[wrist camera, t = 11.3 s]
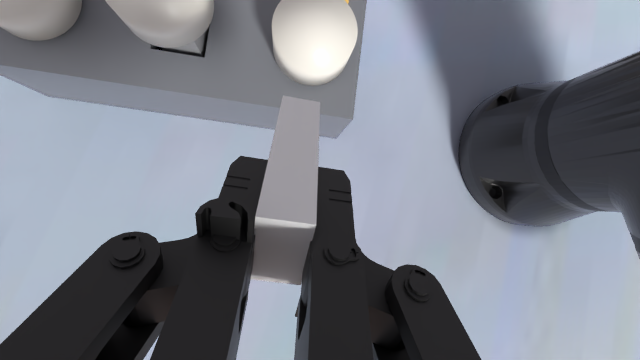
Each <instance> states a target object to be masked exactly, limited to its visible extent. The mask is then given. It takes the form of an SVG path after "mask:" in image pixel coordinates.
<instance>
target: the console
mask: <svg viewBox="0 0 640 360" xmlns="http://www.w3.org/2000/svg"><path fill="white" fill-rule="evenodd" d="M280 1H281V0H214V13H213V18H212V21H211V23H210V27H209V33H208V39H207V46H206V52H205V58H204V57H198V56H192V55H186V54H180V53H174V52H168V51H162V50H156V48H157V46H154V45H151V44H149V43H147V42H145V41H143V40H142V39H140V38H139V37H137V36H136V35H135V34H134V33H133V32H132V31H131V30H130V28H129V27H128V26H127V25H126V24H125V23H124V22H123V21H122V19H121V18H120V17H119V16H118V15H117V14H116V13H115V11H114V10H113V9H112V8H111V7H110V6H109V5H108V4H107V2H106V1H105V0H82V7H81V11H80V14H79V17H78V19H77V20H76V22H75V23H74V25H73V26H72V27H71V28H70V29H69V30H68V31H66V33H65V34H62V35H60V36H58V37H55V38H52V39H48V40H42V41H33V40H26V39H22V38H19V37H17V36H15V35H13V34H11V33H9V32H8V31H6V30H4V29H3V28H1V27H0V75H1V76H3V77H6V78H8V79H10V80H12V81H15V82H17V83H19V84H21V85H24V86H26V87H28V88H30V89H32V90H35V91H37V92H39V93H41V94H44V95H46V96H49V97H56V98H63V99H69V100H76V101H83V102H90V103H97V104H104V105H110V106H117V107H124V108H131V109H138V110H145V111H151V112H158V113H165V114H172V115H179V116H186V117H193V118H199V119H206V120H213V121H220V122H227V123H234V124H240V125H247V126H254V127H261V128H268V129H275V128H276V124H277V119H278V115H279V111H280V106H281V102H282V98H283V96H289V97H294V98H300V99H306V100H311V101H317V102H320V122H319V136H322V137H329V138H337V137H338V136H339V135H340V134H341V132H342V131H343V130H344V129H345V128H346V127H347V125H348V124H349V123H350V122H351V121H352V120H353V113H354V105H355V96H356V87H357V79H358V70H359V62H360V53H361V45H362V36H363V27H364V19H365V10H366V2H367V0H345V1H346V2H347V4H348V5H349V6H350V8H351V9H352V11H353V13H354V15H355V18H356V22H357V28H358V34H357V41H356V44H355V47H354V49H353V51H352V53H351V55H350V57H349V60H348V62H347V64H346V66H345V68H344V69H343V71H342V72H341V73H340V75H339V76H338V77H336V78H335V79H334V80H332V81H330V82H328V83H326V84H323V85H317V86H309V85H303V84H300V83H297V82H295V81H293V80H292V79H290V78H289V77H287V76H286V75H285V74H284V73H283V72H282V70H281V69H280V68H279V66H278V64H277V62H276V60H275V57H274V53H273V39H272V18H273V14H274V12H275V9H276V7H277V5H278V4H279V3H280Z"/></svg>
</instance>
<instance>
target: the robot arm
mask: <svg viewBox="0 0 640 360" xmlns="http://www.w3.org/2000/svg"><path fill="white" fill-rule="evenodd" d="M319 122H320V102H317V101H311V100H306V99H300V98H294V97H289V96H283V98H282V102H281V106H280V111H279V115H278V119H277V124H276V128H275V132H274V137H273V141H272V146H271V150H270V154H269V159H268V160H264V159H257V158H251V157H244V156H240V157H239V158H238V159H236V160H235V161H234V162H233V163H232V164H231V165H230V168H229V171H228V173H227V177H226V179H225V181H224V184H223V187H222V190H221V192H220V195H219V198H217V199H213V200H210V201H208V202H206V203H205V204H203V205H202V206H200V208H199V209H198V211H197V212H196V213H195V215H196V226H197V234H196V235H194V236H192V237H189V238H186V239H182V240H176V241H169V242H162V243H158V241H157V239H156V238H155V237H153V236H151V235H150V234H148V233H143V232H128V233H123V234H120V235H118V236H115V237H113V238H111V239H109V240H108V241H107V242H105V243H104V244H103V245H101V246H100V247H99V248H98V249H97V250H96V251H95V252H94V253H93V254H92V255H91V256H90V257H89V258H88V259H87V260H86V261H85V262H84V263H83V264H82V265H81V266H80V267H79V268H78V269H77V270H76V271H75V272H74V273H73V274H72V275H71V276H70V277H69V278H68V279H67V280H66V281H65V282H64V283H63V284H62V285H60V286H59V287H58V288H57V289H56V290H55V291H54V292H53V293H52V294H51V295H50V296H49V297H48V298H47V299H46V300H45V301H44V302H43V303H42V304H41V305H40V306H39V307H38V308H37V309H36V310H35V311H34V312H33V313H32V314H31V315H30V316H29V317H28V318H27V319H26V320H25V321H24V322H23V323H22V324H21V325H20V326H19V327H18V328H17V329H16V330H15V331H14V332H12V333H11V334H10V335H9V336H8V337H7V338H6V339H5V340H4V341H3V342H2V343H1V344H0V360H143V359H144V357H145V356H146V354H147V353H148V351H149V350H150V348H151V347H152V345H153V344H154V342H155V341H156V339H157V337H158V336H159V338H158V340H157V343H156V346H155V348H154V351H153V353H152V356H151V358H150V360H236V355H237V350H238V345H239V340H240V335H241V330H242V325H243V320H244V315H245V310H246V305H247V300H248V289H249V284H250V279H251V280H260V281H269V282H278V283H287V284H295V285H301V282H302V287H301V296H300V299H299V303H298V307H297V310H296V314H295V317H297V329H296V343H295V357H294V360H481V358H480V356H479V354H478V353H477V351H476V349H475V347H474V345H473V343H472V342H471V340H470V338H469V336H468V334H467V332H466V330H465V329H464V327H463V325H462V323H461V321H460V319H459V318H458V316H457V314H456V312H455V310H454V308H453V307H452V305H451V303H450V301H449V299H448V297H447V295H446V294H445V292H444V290H443V288H442V286H441V284H440V283H439V282H438V280H437V279H436V278H435V276H434V275H432V274H431V273H430V272H428V271H427V270H426V269H424V268H421V267H419V266H416V265H403V266H400V267H398V268H397V269H396V270H395V271H394V270H391V269H389V268H387V267H384V266H382V265H380V264H377V263H375V262H373V261H372V260H370V259H369V258H367V257H366V256H365V255H364V254H363V253H362V252H361V249H360V248H359V247H358V245H357V243H356V239H355V230H354V219H353V207H352V196H351V184H350V180H349V179H348V177H347V175H346V174H345V172H344V171H342V170H335V169H329V168H322V167H318V154H319ZM459 162H460V168H461V172H462V176H463V179H464V181H465V184H466V186H467V188H468V190H469V191H470V193H471V195H472V196H473V197H474V199H475V200H476V201H477V202H478V203H479V205H480V206H481V207H482V208H484V209H485V210H486V211H487V212H489V213H490V214H491V215H493V216H495V217H496V218H498V219H500V220H503V221H505V222H508V223H512V224H518V225H528V226H549V225H554V224H558V223H562V222H565V221H568V220H571V219H574V218H577V217H580V216H583V215H587V214H590V213H593V212H596V211H612V212H621V213H622V214H623V217H624V219H625V222H626V224H627V227H628V230H629V232H630V234H631V237H632V239H633V242H634V244H635V248H636V251H637V253H638V256H639V259H640V51H639V52H637V53H634V54H632V55H629V56H627V57H625V58H622V59H620V60H617V61H615V62H612V63H610V64H607V65H605V66H603V67H600V68H598V69H595V70H593V71H590V72H588V73H586V74H583V75H581V76H579V77H576V78H574V79H572V80H569V81H559V82H543V83H528V84H521V85H517V86H513V87H510V88H507V89H505V90H503V91H501V92H499V93H497V94H495V95H493V96H491V97H489V98H488V99H486V100H485V101H483V102H482V103H481V104H480V105H479V106H478V107H477V108H476V109H475V110H474V111H473V112H472V114H471V115H470V117H469V118H468V120H467V122H466V124H465V126H464V128H463V131H462V135H461V139H460V145H459ZM159 334H160V335H159Z"/></svg>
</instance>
